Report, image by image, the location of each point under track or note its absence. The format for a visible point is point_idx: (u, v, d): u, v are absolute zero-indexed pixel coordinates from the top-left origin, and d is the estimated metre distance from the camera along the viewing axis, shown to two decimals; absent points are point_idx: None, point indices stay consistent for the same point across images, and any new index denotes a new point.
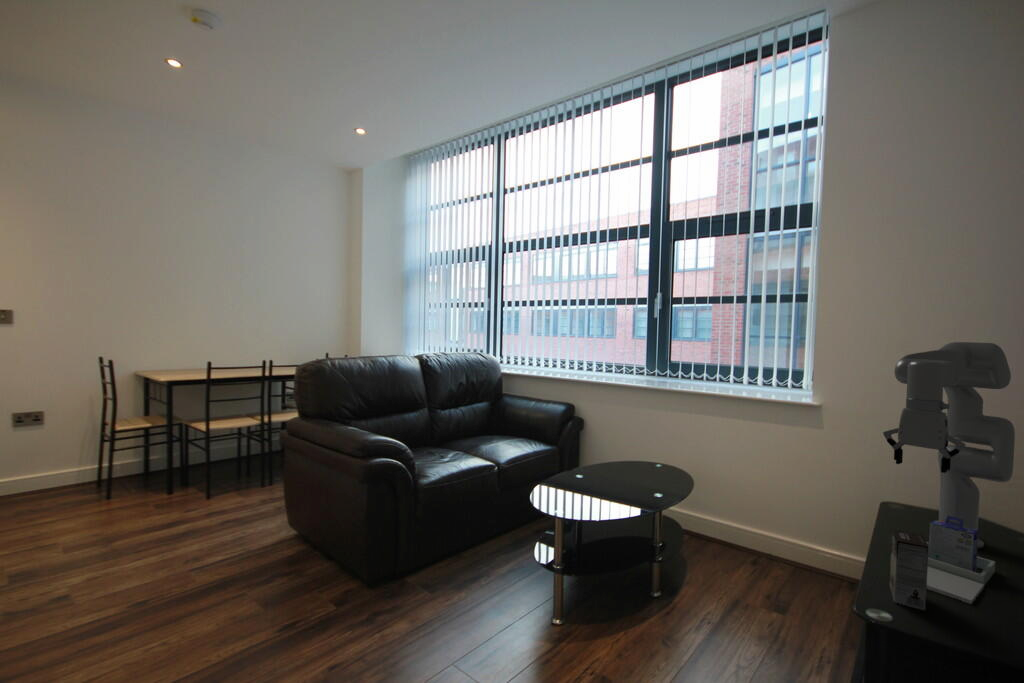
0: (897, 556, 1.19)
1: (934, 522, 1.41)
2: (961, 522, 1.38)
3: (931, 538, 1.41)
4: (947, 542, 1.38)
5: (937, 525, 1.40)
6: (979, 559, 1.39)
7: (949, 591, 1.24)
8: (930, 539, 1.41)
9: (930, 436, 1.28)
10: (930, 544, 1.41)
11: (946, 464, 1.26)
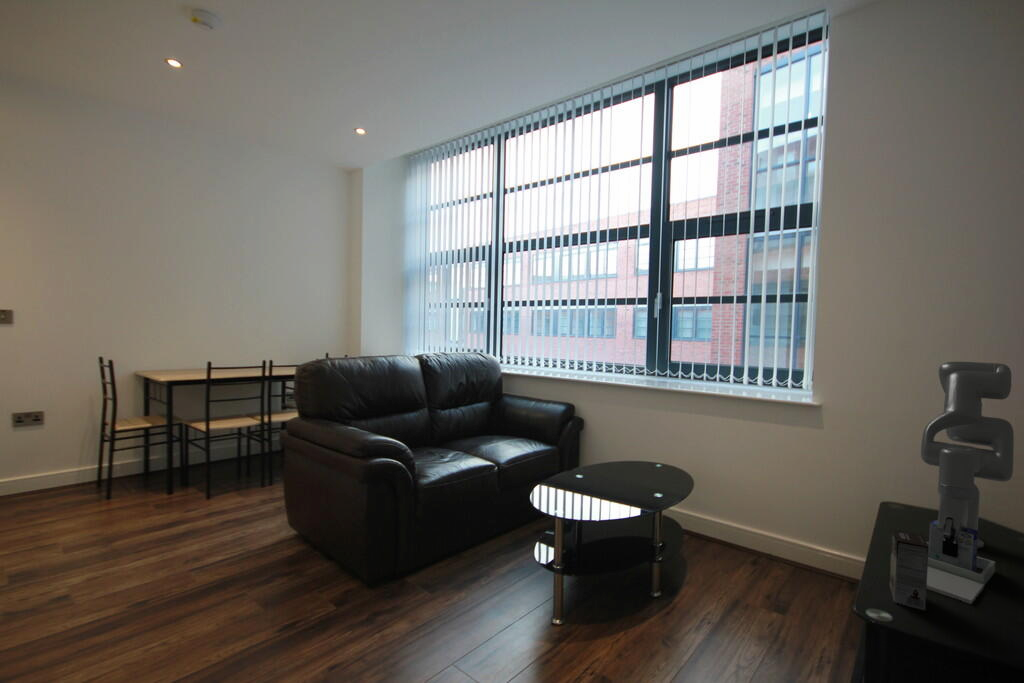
0: (897, 556, 1.19)
1: (934, 522, 1.41)
2: None
3: (931, 538, 1.41)
4: None
5: (937, 525, 1.40)
6: (979, 559, 1.39)
7: (949, 591, 1.24)
8: (930, 539, 1.41)
9: (966, 519, 1.38)
10: (930, 544, 1.41)
11: None
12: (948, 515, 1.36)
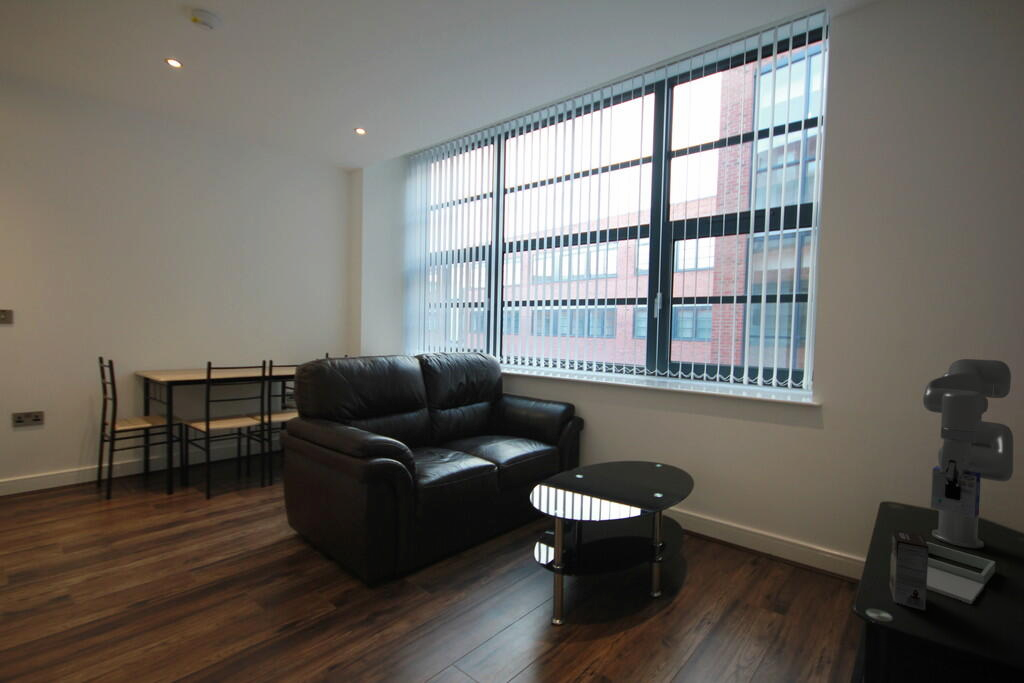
0: (897, 556, 1.19)
1: (937, 467, 1.41)
2: None
3: (933, 483, 1.40)
4: None
5: None
6: (979, 559, 1.39)
7: (949, 591, 1.24)
8: (933, 484, 1.41)
9: (969, 462, 1.38)
10: (933, 489, 1.41)
11: None
12: (951, 458, 1.36)
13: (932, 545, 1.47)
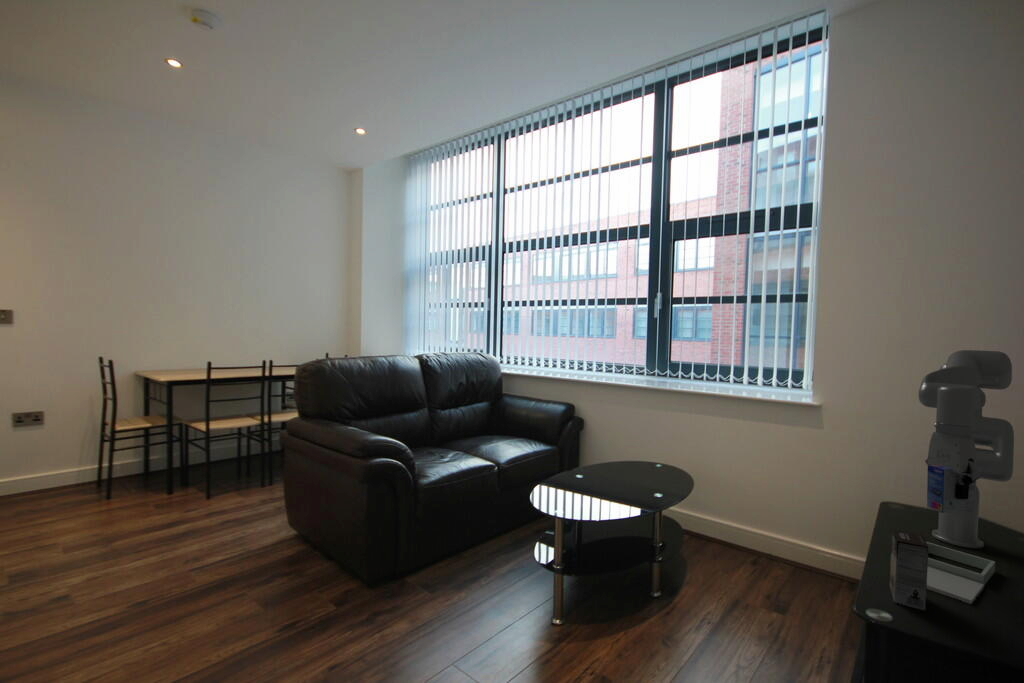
0: (897, 556, 1.19)
1: (941, 467, 1.31)
2: None
3: (945, 485, 1.30)
4: None
5: (949, 470, 1.30)
6: (979, 559, 1.39)
7: (949, 591, 1.24)
8: (945, 487, 1.30)
9: None
10: (945, 492, 1.30)
11: None
12: (969, 456, 1.28)
13: (932, 545, 1.47)
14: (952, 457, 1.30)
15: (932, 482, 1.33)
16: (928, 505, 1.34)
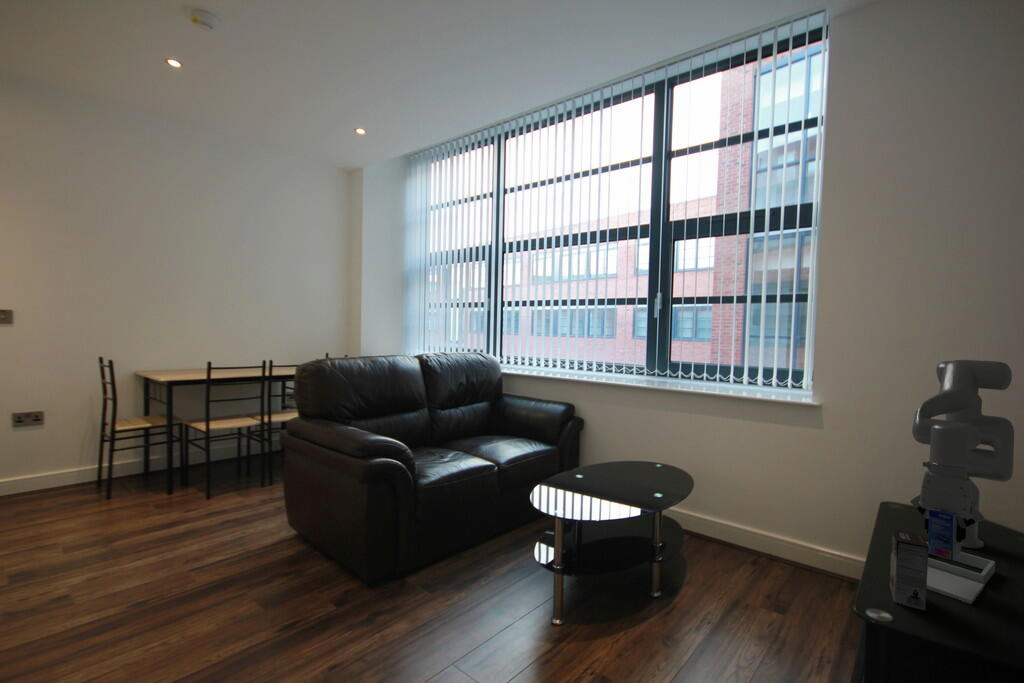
0: (897, 556, 1.19)
1: (946, 512, 1.26)
2: None
3: (954, 531, 1.24)
4: None
5: (955, 514, 1.25)
6: (979, 559, 1.39)
7: (949, 591, 1.24)
8: (953, 533, 1.24)
9: None
10: (954, 538, 1.24)
11: None
12: (971, 498, 1.24)
13: None
14: (956, 500, 1.25)
15: (936, 528, 1.26)
16: (931, 552, 1.27)
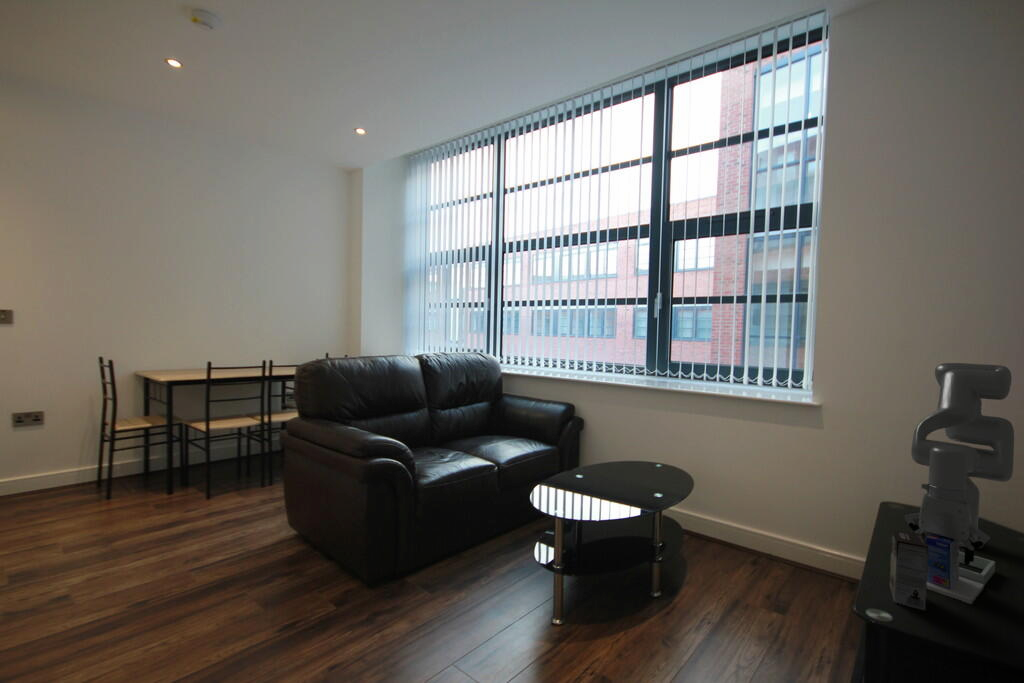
0: (897, 556, 1.19)
1: (943, 540, 1.26)
2: None
3: (951, 559, 1.25)
4: (954, 555, 1.27)
5: (952, 542, 1.26)
6: (979, 559, 1.39)
7: (949, 591, 1.24)
8: (950, 561, 1.25)
9: None
10: (951, 567, 1.25)
11: None
12: (970, 522, 1.25)
13: None
14: (955, 524, 1.25)
15: (934, 555, 1.27)
16: (928, 579, 1.28)
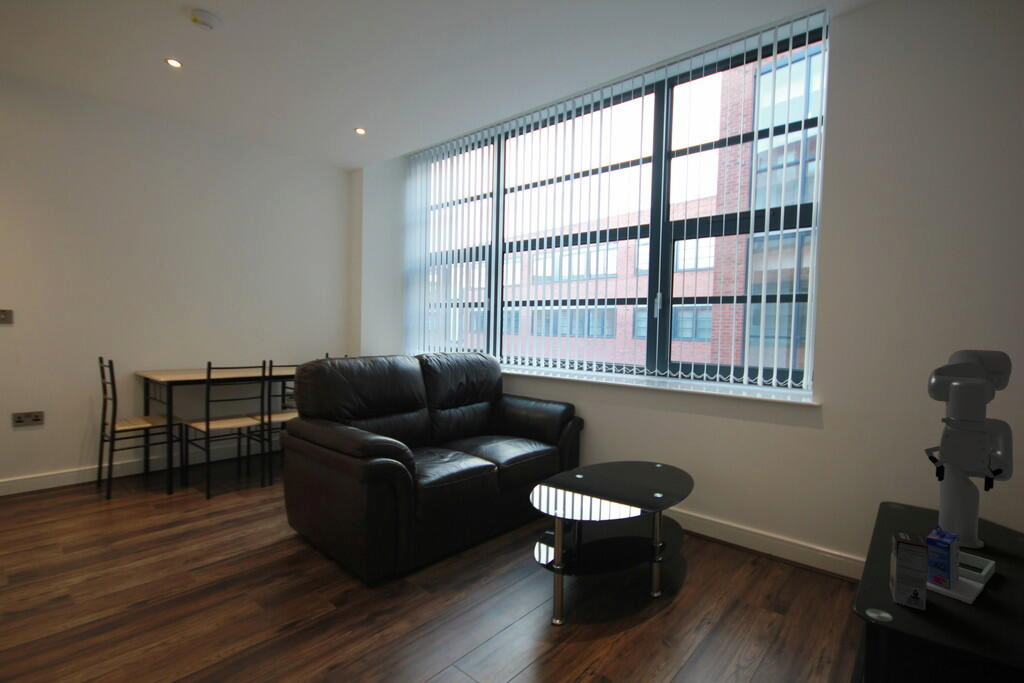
0: (897, 556, 1.19)
1: (943, 540, 1.26)
2: (938, 527, 1.31)
3: (951, 560, 1.25)
4: (954, 555, 1.27)
5: (952, 542, 1.26)
6: (979, 559, 1.39)
7: (949, 591, 1.24)
8: (950, 561, 1.25)
9: None
10: (951, 567, 1.25)
11: None
12: (990, 451, 1.29)
13: None
14: (975, 453, 1.29)
15: (934, 555, 1.27)
16: (928, 579, 1.28)
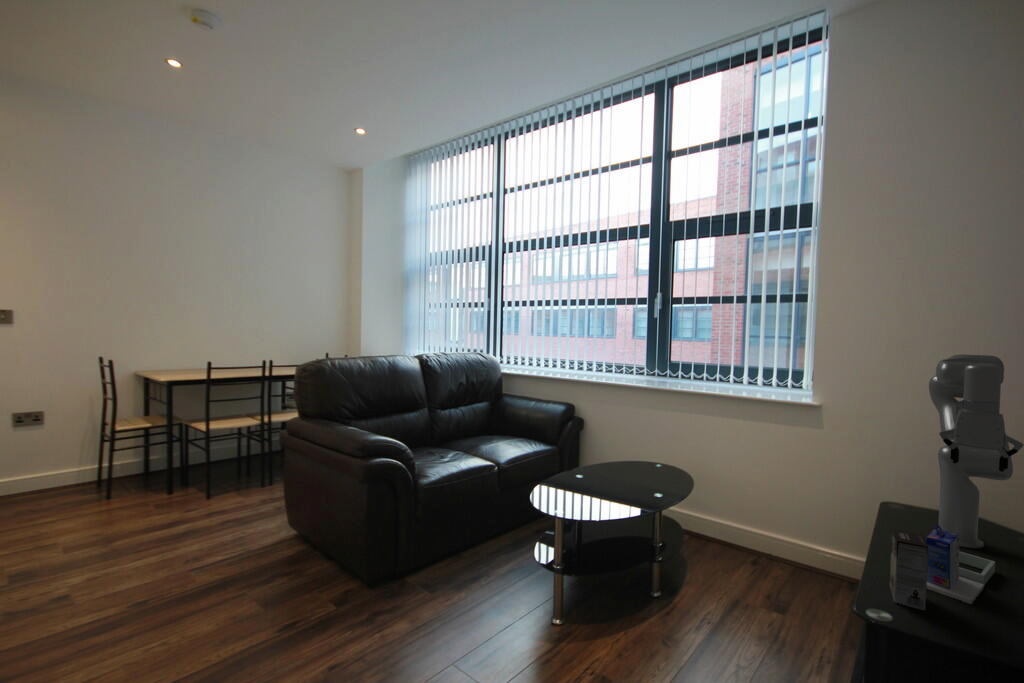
0: (897, 556, 1.19)
1: (943, 540, 1.26)
2: (938, 527, 1.31)
3: (951, 559, 1.25)
4: (954, 555, 1.27)
5: (952, 542, 1.26)
6: (979, 559, 1.39)
7: (949, 591, 1.24)
8: (950, 561, 1.25)
9: None
10: (951, 567, 1.25)
11: None
12: (1004, 432, 1.32)
13: None
14: (990, 434, 1.33)
15: (934, 555, 1.27)
16: (928, 579, 1.28)
